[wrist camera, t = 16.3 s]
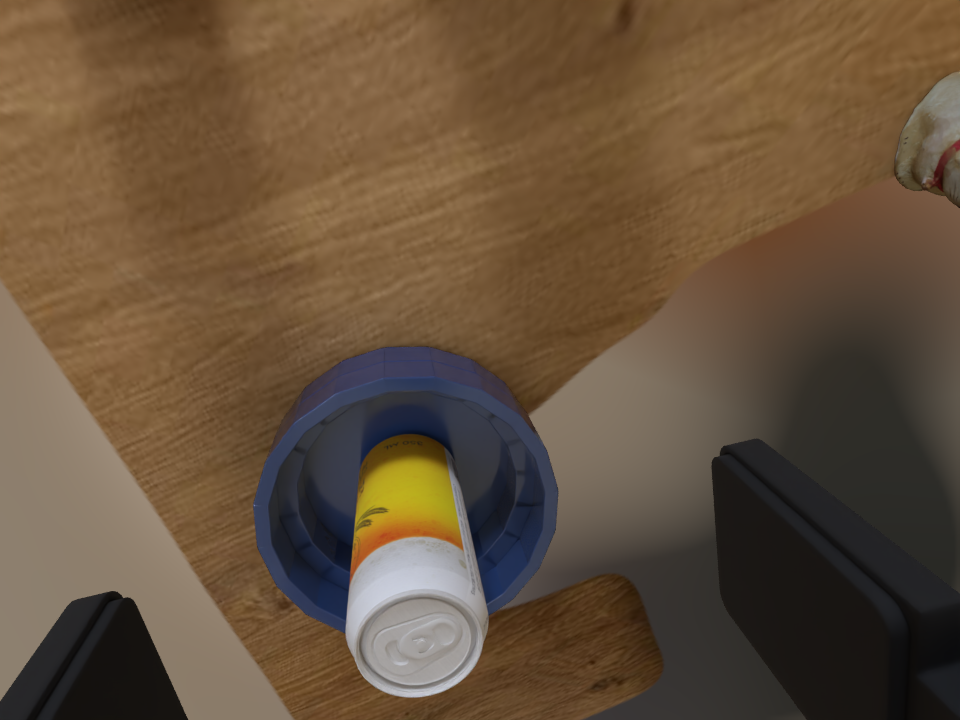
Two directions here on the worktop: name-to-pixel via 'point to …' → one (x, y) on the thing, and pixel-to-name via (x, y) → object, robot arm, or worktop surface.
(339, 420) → the bowl
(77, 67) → the worktop surface
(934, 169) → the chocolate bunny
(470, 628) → the beer can
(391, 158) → the worktop surface
